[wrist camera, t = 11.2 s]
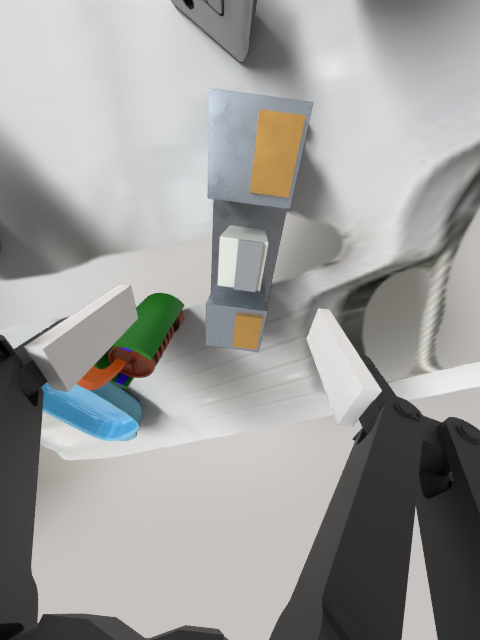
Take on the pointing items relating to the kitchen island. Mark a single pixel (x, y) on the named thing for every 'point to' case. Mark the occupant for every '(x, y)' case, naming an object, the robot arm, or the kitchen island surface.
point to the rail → (250, 197)
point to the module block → (242, 258)
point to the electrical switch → (223, 21)
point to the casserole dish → (95, 411)
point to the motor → (138, 344)
